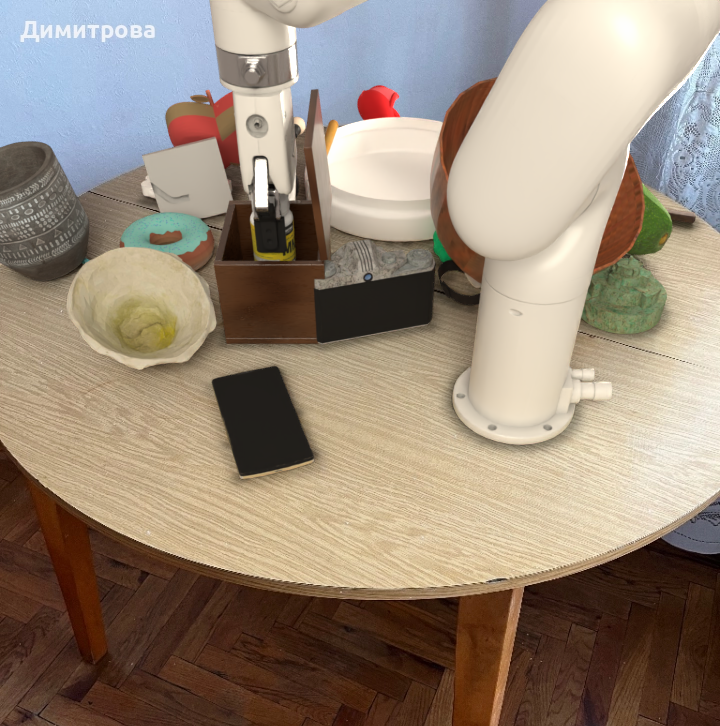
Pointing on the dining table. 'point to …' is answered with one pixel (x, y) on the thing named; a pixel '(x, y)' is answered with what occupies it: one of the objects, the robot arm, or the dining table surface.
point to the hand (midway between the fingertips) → (274, 236)
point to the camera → (373, 291)
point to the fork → (330, 134)
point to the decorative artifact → (624, 298)
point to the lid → (318, 173)
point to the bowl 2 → (454, 129)
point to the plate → (383, 178)
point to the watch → (457, 297)
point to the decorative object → (205, 124)
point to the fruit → (652, 226)
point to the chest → (268, 281)
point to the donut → (172, 236)
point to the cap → (377, 103)
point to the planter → (39, 214)
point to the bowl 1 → (141, 307)
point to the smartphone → (261, 422)
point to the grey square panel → (189, 179)
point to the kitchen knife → (681, 215)
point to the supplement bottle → (289, 228)
